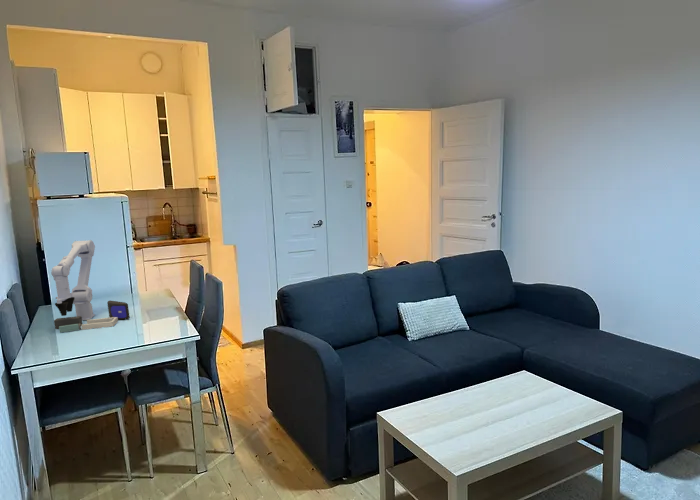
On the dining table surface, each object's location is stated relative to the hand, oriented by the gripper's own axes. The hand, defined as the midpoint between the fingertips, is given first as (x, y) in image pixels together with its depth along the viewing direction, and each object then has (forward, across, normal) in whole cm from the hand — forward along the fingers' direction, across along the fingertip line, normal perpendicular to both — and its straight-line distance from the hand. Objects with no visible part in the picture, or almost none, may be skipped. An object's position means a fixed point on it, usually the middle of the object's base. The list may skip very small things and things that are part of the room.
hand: (66, 313), depth 253 cm
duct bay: (+7, +3, +16) cm, 18 cm away
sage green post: (+7, +9, +4) cm, 12 cm away
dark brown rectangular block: (+8, 0, 0) cm, 8 cm away
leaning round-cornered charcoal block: (+8, -8, +23) cm, 26 cm away
